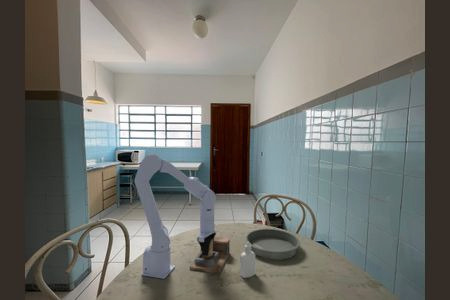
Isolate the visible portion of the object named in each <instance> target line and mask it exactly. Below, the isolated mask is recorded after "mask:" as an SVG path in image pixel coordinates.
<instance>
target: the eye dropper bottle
mask: <svg viewBox="0 0 450 300" xmlns="http://www.w3.org/2000/svg"><path fill="white" fill-rule="evenodd" d="M239 258H240V259H239V264H240V265H239V274H240V276H241V277H242V278H243V279H246V278H251V277H253V276H255V274H256V254H255V253H254V252H253V251H251V245H249V242H247V241H246V244H245V245H244V251H243V252H241V254H240V256H239Z"/></svg>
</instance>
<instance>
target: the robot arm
mask: <svg viewBox="0 0 450 300" xmlns="http://www.w3.org/2000/svg"><path fill="white" fill-rule="evenodd" d="M157 172H159V173H167V174H169V175H171V176H172V177H174V178H175V179H176V180H178V182H180V183H182V184H183V188H184V190H186V191H187V192H188V193H190V195H192V196H194V197H195V198H197V199H199V200H200V207H199V234H198V236H197V237H196V241H197V242H198V244H199V246H200V251H202V255H205V256H208V253H209V246H210V242H211V240H212V239H213V241H214V237H216V235H217V232H218V229H217V228H215V226H216V225H215V203H216V201H217V196H216V194H215V192H214V190H212V189H210V188H209V185H207V184H204V183H203V182H201V181H200V178H198V177H195V176H190V177H189V176H187V175H186V174H185V173H183V172H182V171H181V170H180V169H179V168H177V167H176V166H175V165H174V164H172V163H171V162H170V161H168V160H166V159H164V158H162V157H160V156H159V155H157V154H155V153H149V154H147V155H145V156H144V158H143V159H142V160H141V161H140V163H139V165H138V169H137V172H136V174H135V178H134V184H135V189H136V190H137V194H138V196H139V199H140V203H141V206H142V209H143V211H144V214H145V217H146V220H147V223H148V226H149V231H150V235H151V245H149V246H147V247H145V249H144V252H143V255H142V272H141V276H144V277H151V278H158V279H164V280H165V279H166V278H167V277H168V275H169V274H171V272H172V271H173V270H174V269H175V267H176V266H175V265H173V264H171V239H170V236H169V230H168V228H167V227H166V226H165V225H164V223H163V220H162V217H161V215H160V211H159V208H158V206H157V203H156V199H155V196H154V193H153V191H152V188H151V183H150V180H151V179H152V178H153V176H154V175H155V174H156V173H157Z"/></svg>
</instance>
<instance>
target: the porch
mask: <svg viewBox="0 0 450 300" xmlns="http://www.w3.org/2000/svg"><path fill="white" fill-rule="evenodd" d="M230 240H231V239H230V238H229V237H220V236H215V237H214V241H213V257H212V259H203V255H202V251H201V250H200V252H199V253H198V254H197V256H196V257H195V258H194V260H193V261H192V263H191V264H190V265H189V270H190V271H191V270H192V271H197V272H198V271H199V272H205V273H212V274H218V275H219V274H220V275H221V273H222V270H223V268H224V266H225V263H226V262H227V259H228V257H229V255H230V249H231V248H230V247H231V246H230V242H231V241H230Z"/></svg>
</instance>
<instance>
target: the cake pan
mask: <svg viewBox="0 0 450 300" xmlns="http://www.w3.org/2000/svg"><path fill="white" fill-rule="evenodd" d="M300 241H301V240H300V239H299V238H298V237H297V236H296V235H295V234H293V233H291V232H290V231H289V232H288V231H286V230H283V229H282V230H281V229H276V228H261V229H260V228H259V229H254V230H252V231H250V232H248V233H247V234H246V235H245V242H246V243H247V242H249V245H251V251H253V252H254V253H255V256H259V257H261V258H265V259H269V260H286V259H291V258H292V257H294V256H295V255H296V253H297V249H298V247H300V245H301V242H300ZM252 243H253V244H252ZM254 244H255V245H254ZM256 245H257V246H256ZM258 246H259V247H258Z"/></svg>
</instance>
